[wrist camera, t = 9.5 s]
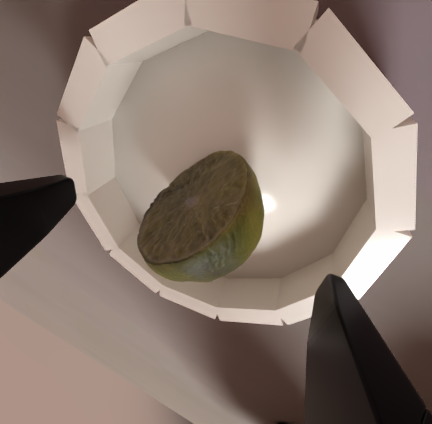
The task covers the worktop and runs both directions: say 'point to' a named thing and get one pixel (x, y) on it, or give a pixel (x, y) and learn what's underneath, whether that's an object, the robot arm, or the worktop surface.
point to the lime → (204, 220)
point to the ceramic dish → (244, 144)
